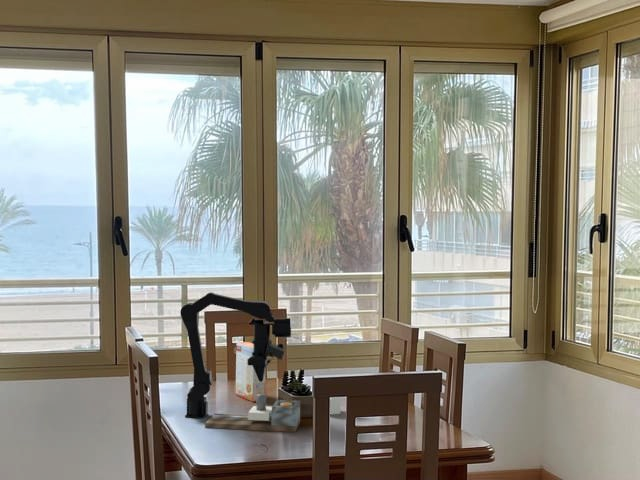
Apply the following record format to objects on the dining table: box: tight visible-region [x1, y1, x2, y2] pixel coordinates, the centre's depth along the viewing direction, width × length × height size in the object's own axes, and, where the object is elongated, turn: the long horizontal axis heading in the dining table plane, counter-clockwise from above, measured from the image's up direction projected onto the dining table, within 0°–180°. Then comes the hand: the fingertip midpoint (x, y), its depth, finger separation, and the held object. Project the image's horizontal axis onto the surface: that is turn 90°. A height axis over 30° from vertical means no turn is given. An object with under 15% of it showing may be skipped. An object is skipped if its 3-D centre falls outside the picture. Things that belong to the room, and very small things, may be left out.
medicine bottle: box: [330, 397, 342, 416], centre depth 253 cm, size 7×7×12 cm
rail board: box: [204, 399, 301, 433], centre depth 236 cm, size 30×12×8 cm, turn 84°
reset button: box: [280, 402, 292, 406], centre depth 235 cm, size 4×4×2 cm
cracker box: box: [234, 341, 267, 402], centre depth 274 cm, size 14×6×21 cm, turn 35°
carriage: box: [247, 393, 272, 421], centre depth 236 cm, size 7×9×7 cm
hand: (261, 381), depth 248 cm, fingers closed
